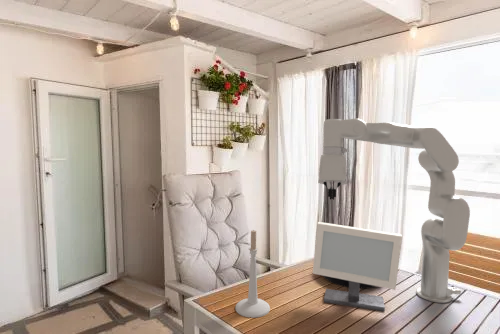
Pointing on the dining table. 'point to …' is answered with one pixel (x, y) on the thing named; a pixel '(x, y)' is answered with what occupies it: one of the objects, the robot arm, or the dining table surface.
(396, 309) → the dining table surface
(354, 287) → the frame stand
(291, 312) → the dining table surface
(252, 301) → the candlestick
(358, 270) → the picture frame
